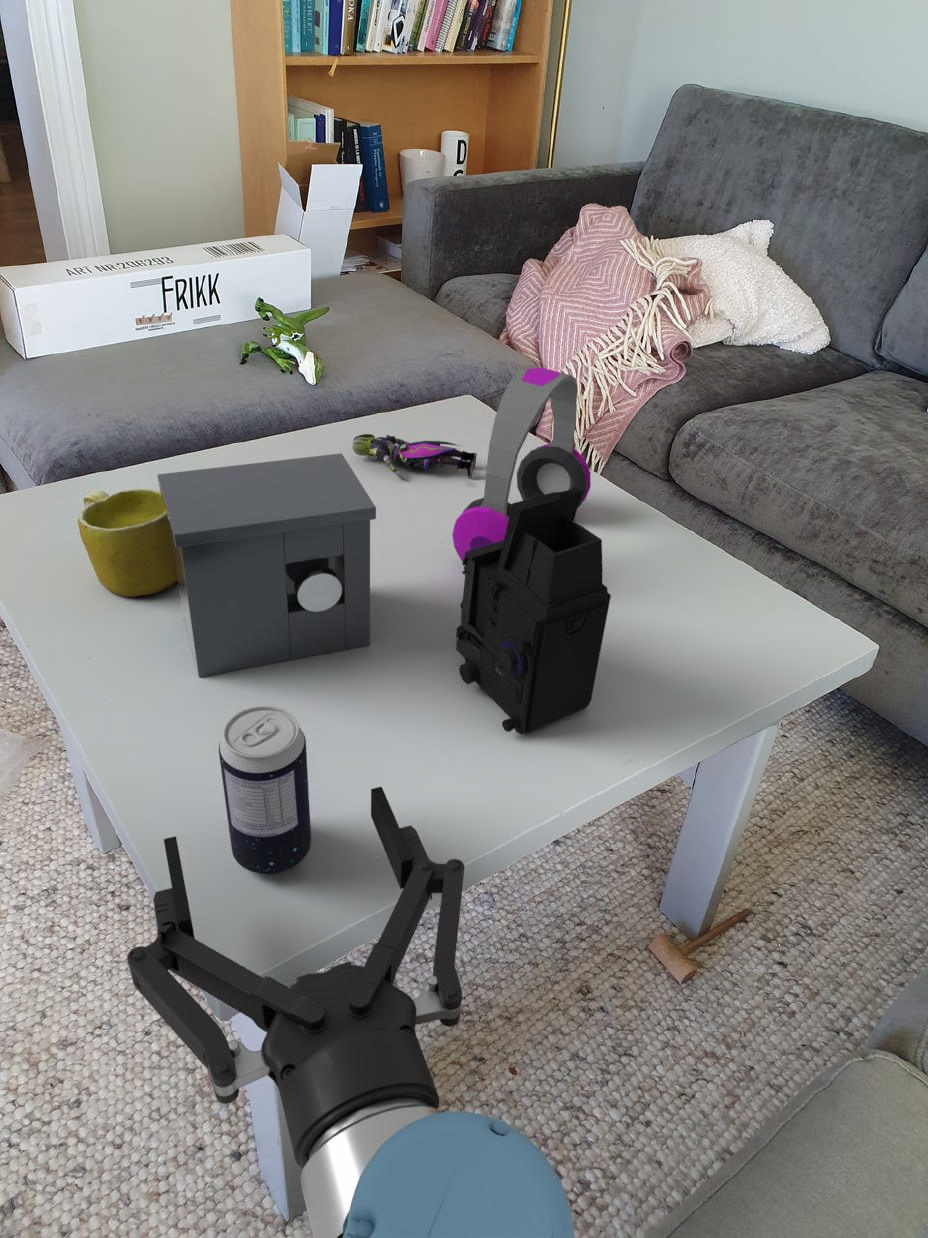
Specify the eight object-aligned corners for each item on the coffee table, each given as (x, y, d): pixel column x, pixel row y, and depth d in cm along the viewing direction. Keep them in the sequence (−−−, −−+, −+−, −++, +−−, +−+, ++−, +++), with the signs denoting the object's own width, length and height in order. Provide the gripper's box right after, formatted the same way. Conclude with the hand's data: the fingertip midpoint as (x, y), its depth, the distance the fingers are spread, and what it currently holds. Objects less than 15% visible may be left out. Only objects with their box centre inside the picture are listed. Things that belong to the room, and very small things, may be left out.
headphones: (517, 596, 96) (538, 417, 84) (443, 570, 99) (454, 394, 87) (590, 514, 111) (617, 353, 99) (525, 494, 114) (543, 335, 102)
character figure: (477, 460, 122) (360, 440, 123) (481, 434, 120) (361, 414, 120) (467, 492, 114) (342, 471, 115) (471, 465, 112) (343, 444, 113)
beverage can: (327, 850, 67) (322, 730, 60) (266, 896, 64) (253, 774, 57) (278, 809, 70) (268, 690, 63) (216, 851, 67) (198, 730, 60)
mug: (221, 568, 93) (173, 486, 87) (132, 625, 90) (76, 543, 84) (181, 535, 102) (135, 458, 96) (99, 585, 99) (46, 509, 93)
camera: (514, 629, 91) (535, 443, 79) (603, 708, 82) (642, 512, 70) (429, 660, 86) (438, 467, 74) (513, 747, 77) (540, 544, 66)
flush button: (298, 615, 81) (296, 577, 78) (294, 606, 82) (292, 569, 79) (342, 607, 82) (341, 570, 80) (338, 599, 83) (337, 562, 81)
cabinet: (194, 681, 82) (173, 534, 73) (177, 613, 90) (157, 474, 81) (375, 647, 87) (376, 507, 78) (344, 586, 95) (341, 452, 86)
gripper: (118, 1273, 43) (88, 912, 59) (584, 1092, 52) (449, 818, 67) (90, 1204, 39) (66, 834, 54) (605, 1019, 47) (455, 744, 63)
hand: (277, 825), depth 61 cm, fingers open, 13 cm apart
